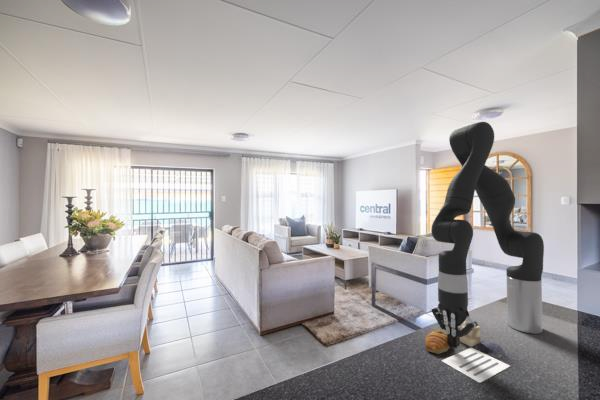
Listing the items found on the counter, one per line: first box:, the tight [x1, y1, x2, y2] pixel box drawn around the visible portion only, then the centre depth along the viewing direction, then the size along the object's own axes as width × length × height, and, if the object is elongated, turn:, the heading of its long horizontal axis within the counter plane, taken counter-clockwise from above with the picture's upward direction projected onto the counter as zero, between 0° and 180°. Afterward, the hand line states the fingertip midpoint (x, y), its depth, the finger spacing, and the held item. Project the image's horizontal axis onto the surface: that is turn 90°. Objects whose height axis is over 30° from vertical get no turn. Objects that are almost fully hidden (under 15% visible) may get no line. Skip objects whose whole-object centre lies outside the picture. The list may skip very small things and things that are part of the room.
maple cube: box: [460, 320, 481, 348], centre depth 82 cm, size 5×5×5 cm
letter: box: [440, 346, 511, 384], centre depth 71 cm, size 14×10×1 cm
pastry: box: [424, 330, 451, 355], centre depth 79 cm, size 9×7×4 cm
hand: (453, 347), depth 76 cm, fingers closed
